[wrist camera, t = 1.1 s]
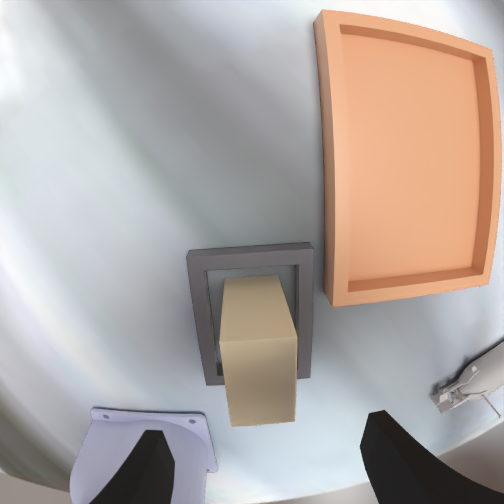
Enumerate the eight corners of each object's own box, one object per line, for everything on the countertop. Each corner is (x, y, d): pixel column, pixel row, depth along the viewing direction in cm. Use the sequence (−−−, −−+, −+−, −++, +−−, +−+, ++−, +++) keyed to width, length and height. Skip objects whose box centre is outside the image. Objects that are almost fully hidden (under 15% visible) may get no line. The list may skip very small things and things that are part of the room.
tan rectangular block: (232, 350, 20) (231, 426, 13) (224, 278, 18) (219, 342, 12) (279, 347, 20) (295, 421, 14) (277, 274, 18) (297, 336, 12)
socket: (207, 374, 20) (206, 385, 19) (189, 250, 17) (186, 257, 16) (306, 366, 20) (310, 377, 19) (309, 242, 18) (314, 248, 16)
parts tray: (323, 291, 19) (332, 307, 17) (313, 23, 14) (322, 9, 12) (472, 273, 19) (488, 284, 17) (473, 54, 14) (491, 49, 12)
